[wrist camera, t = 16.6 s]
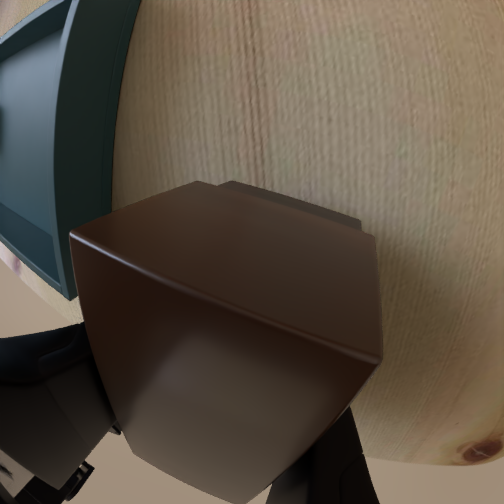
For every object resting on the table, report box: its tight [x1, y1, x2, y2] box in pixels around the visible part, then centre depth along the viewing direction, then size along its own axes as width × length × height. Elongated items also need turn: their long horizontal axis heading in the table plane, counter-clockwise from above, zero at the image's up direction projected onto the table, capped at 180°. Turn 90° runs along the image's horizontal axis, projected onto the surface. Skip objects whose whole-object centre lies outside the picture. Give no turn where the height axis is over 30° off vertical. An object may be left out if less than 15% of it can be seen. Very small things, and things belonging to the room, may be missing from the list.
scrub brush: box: [69, 181, 383, 504], centre depth 7 cm, size 4×8×5 cm, turn 168°
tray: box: [0, 0, 140, 301], centre depth 11 cm, size 20×13×3 cm, turn 78°
